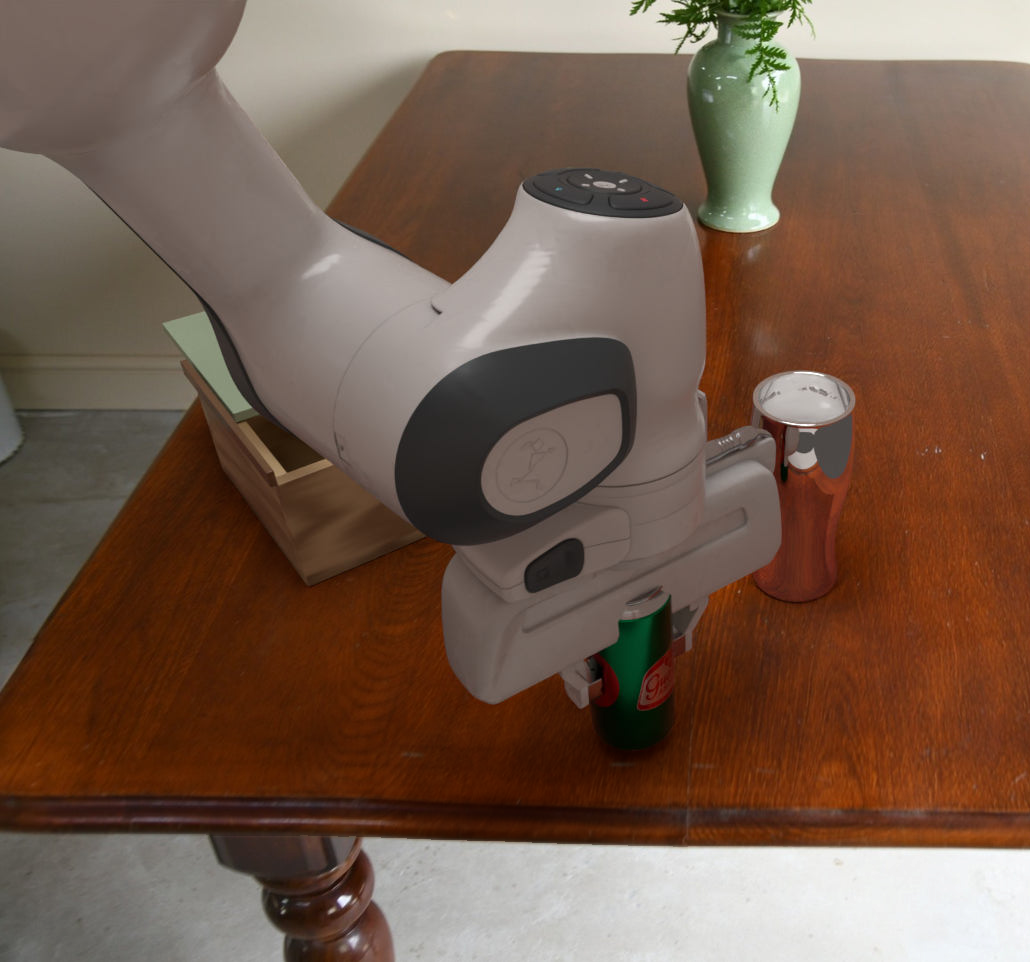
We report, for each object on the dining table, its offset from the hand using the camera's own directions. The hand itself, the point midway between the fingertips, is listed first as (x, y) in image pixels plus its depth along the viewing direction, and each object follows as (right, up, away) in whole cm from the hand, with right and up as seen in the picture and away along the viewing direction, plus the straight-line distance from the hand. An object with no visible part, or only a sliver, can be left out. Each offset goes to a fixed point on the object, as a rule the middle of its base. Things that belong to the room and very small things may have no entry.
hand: (629, 672), depth 66 cm
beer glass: (+11, +4, +15) cm, 19 cm away
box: (-23, +11, +23) cm, 34 cm away
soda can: (0, -4, +3) cm, 5 cm away
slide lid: (-28, +22, +23) cm, 42 cm away
